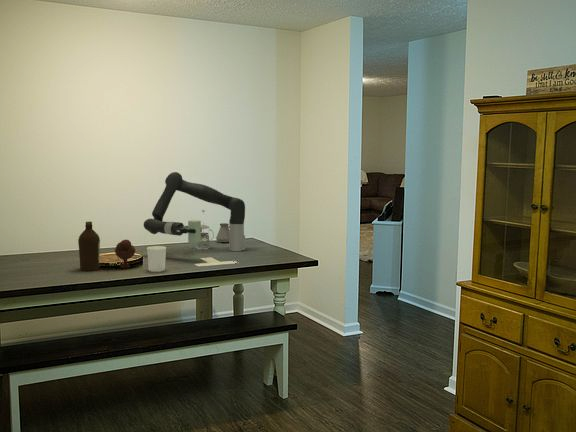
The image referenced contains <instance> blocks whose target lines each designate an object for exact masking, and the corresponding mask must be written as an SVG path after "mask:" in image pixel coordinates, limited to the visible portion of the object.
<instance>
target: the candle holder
mask: <svg viewBox="0 0 576 432" xmlns="http://www.w3.org/2000/svg"><path fill="white" fill-rule="evenodd" d="M146 251H147V265H148V266H147V268H148V271H149V272H152V273H158V272H159V273H160V272H165V270H166V258H167V257H166V256H167V247H166V246H160V245H155V246H148V247H146Z"/></svg>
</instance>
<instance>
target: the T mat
mask: <svg viewBox="0 0 576 432" xmlns="http://www.w3.org/2000/svg"><path fill="white" fill-rule="evenodd" d="M199 259H200V260H203V261H204V262H201V263H194V265H195V266H196V267H209V266H223V265H233V264H234V265H235V263H237V262H238V261H236V260H228V261H227V260H226V261H220V260H217V259H215V258H213V257H202V258H201V257H199ZM233 261H234V262H233ZM237 264H238V263H237Z"/></svg>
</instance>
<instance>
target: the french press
mask: <svg viewBox="0 0 576 432" xmlns="http://www.w3.org/2000/svg"><path fill="white" fill-rule="evenodd" d="M201 212H202V213H204V212H206V210H205V209H202V210H201ZM201 229H202V230H205V229H208V232H201V242H197V243H196V247H195V249H196V248H197V249H196V250H201V249H204V250H209V249H208V248H211V247H210V242H211V241H213V239H214V231H213V230H212V229H211V228H210V226H209V225H206V224H201ZM210 231H211V232H212V234H213V235H212V238H211V239H210V235H209V234H210V233H209V232H210Z"/></svg>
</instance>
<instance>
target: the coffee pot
mask: <svg viewBox="0 0 576 432" xmlns="http://www.w3.org/2000/svg"><path fill="white" fill-rule="evenodd" d="M216 234H217V235H216V236H215V240H216V241H217V242H218V243H219V242H229V223H227V222H226V223H224V222H223V223H219V229H218V233H216Z"/></svg>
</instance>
